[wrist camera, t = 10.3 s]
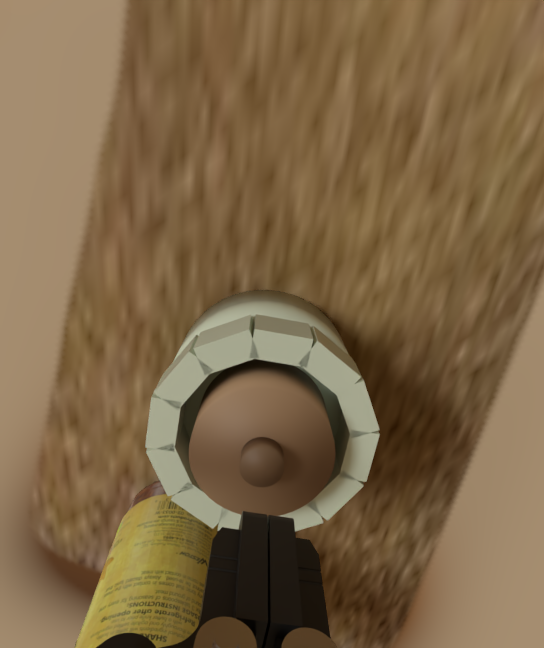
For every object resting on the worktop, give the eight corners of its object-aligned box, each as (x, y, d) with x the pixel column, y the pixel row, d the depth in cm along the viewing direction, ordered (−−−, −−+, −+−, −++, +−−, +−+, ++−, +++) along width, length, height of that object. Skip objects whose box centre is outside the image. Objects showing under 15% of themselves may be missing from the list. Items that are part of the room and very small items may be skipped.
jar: (190, 275, 24) (162, 312, 18) (365, 306, 25) (402, 354, 18) (168, 433, 27) (136, 518, 20) (327, 458, 27) (347, 549, 21)
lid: (210, 347, 20) (197, 385, 16) (339, 371, 20) (354, 413, 17) (190, 461, 22) (175, 519, 18) (311, 481, 22) (319, 542, 18)
